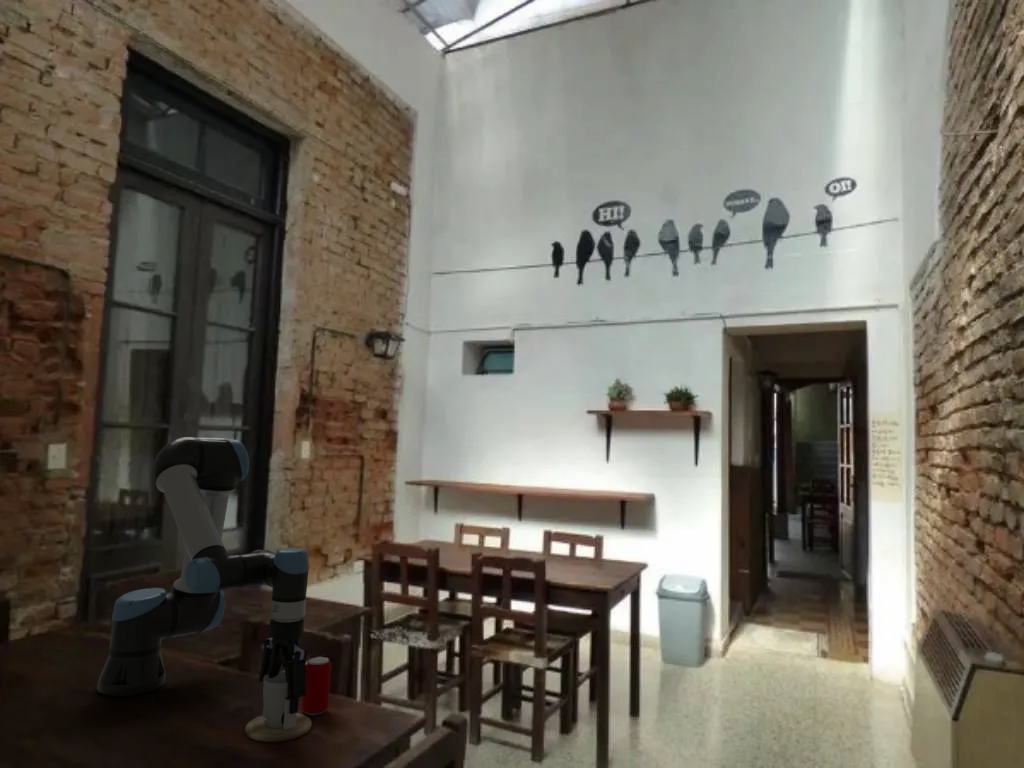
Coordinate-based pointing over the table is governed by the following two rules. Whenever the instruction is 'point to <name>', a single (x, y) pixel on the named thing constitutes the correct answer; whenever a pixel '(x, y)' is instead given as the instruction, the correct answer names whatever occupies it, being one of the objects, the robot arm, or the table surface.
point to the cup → (275, 699)
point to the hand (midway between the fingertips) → (279, 721)
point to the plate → (277, 730)
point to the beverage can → (317, 686)
